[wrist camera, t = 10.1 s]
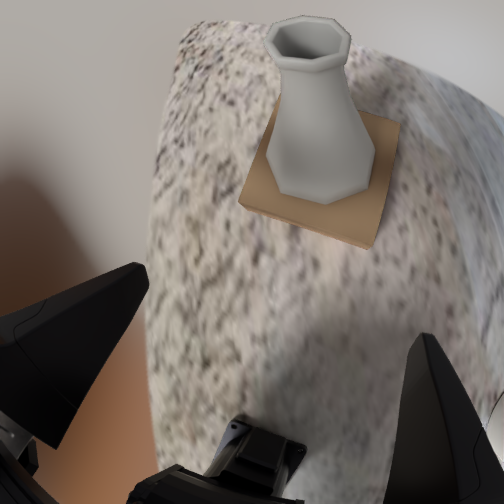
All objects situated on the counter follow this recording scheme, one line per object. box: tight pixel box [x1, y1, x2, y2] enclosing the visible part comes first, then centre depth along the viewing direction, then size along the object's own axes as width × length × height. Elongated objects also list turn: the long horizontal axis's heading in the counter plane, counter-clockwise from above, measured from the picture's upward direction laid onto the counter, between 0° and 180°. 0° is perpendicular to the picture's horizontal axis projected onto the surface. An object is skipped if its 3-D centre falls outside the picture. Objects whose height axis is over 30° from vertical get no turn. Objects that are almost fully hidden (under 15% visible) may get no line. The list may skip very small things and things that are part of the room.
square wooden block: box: [238, 93, 401, 250], centre depth 18 cm, size 9×9×3 cm
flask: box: [263, 15, 375, 205], centre depth 12 cm, size 7×7×10 cm
